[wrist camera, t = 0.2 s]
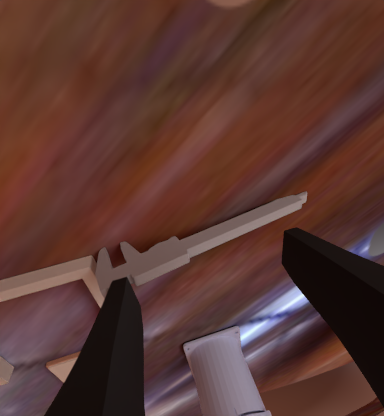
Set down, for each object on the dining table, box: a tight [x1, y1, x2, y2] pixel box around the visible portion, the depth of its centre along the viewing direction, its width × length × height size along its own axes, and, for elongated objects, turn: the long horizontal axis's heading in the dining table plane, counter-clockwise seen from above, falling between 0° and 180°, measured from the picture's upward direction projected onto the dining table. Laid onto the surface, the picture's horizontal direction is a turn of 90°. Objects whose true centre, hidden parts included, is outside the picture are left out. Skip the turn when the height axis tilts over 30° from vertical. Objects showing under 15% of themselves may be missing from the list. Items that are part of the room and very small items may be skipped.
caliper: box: [95, 192, 307, 299], centre depth 19 cm, size 20×1×6 cm, turn 100°
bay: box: [0, 255, 104, 385], centre depth 22 cm, size 12×14×2 cm
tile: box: [46, 351, 81, 383], centre depth 28 cm, size 6×6×1 cm
